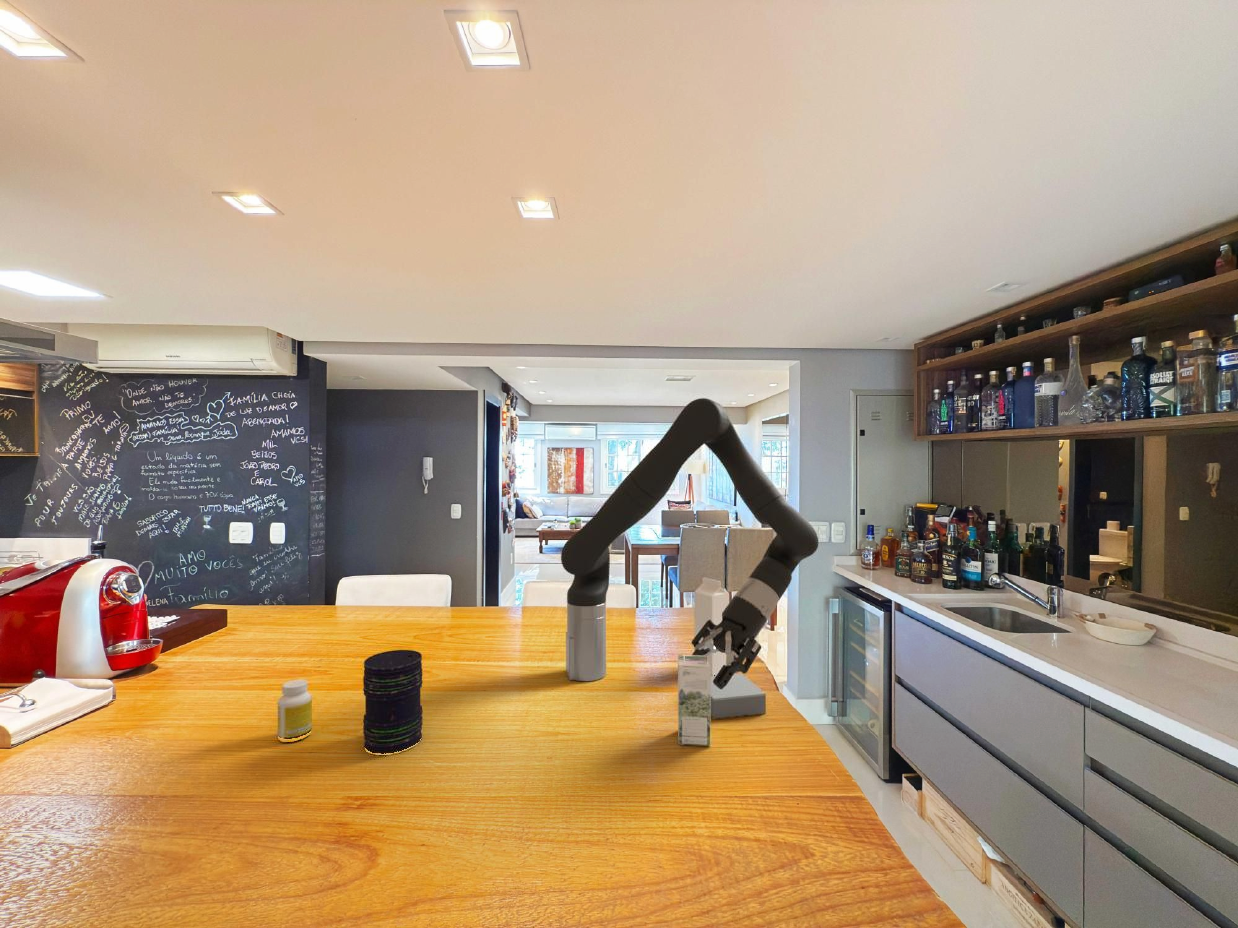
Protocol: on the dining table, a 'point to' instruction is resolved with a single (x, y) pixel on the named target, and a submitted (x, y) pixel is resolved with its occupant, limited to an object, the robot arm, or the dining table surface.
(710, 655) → the milk
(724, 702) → the podium
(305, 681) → the supplement bottle
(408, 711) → the storage jar
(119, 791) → the dining table surface
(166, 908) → the dining table surface
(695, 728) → the syrup box
